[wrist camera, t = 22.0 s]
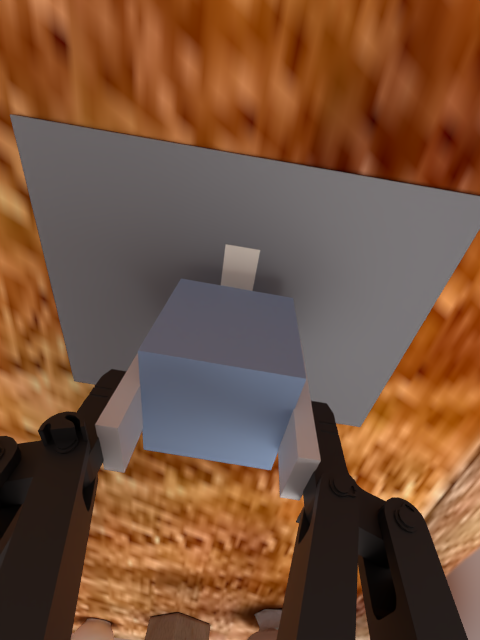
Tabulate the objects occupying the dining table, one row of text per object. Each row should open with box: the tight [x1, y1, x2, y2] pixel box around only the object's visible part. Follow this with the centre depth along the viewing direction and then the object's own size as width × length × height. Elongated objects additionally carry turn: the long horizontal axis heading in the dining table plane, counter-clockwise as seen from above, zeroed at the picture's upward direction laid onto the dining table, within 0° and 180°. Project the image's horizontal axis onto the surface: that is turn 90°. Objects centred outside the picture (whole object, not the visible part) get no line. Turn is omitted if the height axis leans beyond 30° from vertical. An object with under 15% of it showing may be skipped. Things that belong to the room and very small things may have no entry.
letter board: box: [10, 115, 480, 427], centre depth 19 cm, size 24×18×1 cm
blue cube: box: [138, 279, 306, 470], centre depth 14 cm, size 6×6×6 cm
